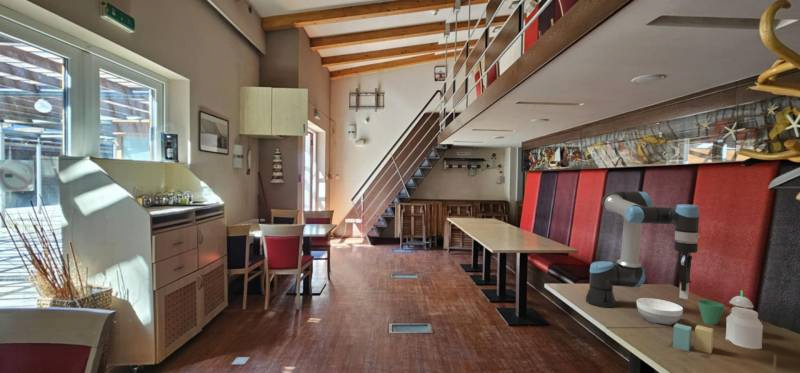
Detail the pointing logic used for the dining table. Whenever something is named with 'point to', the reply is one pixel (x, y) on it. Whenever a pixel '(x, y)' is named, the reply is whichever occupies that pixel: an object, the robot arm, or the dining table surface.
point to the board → (693, 351)
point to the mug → (710, 311)
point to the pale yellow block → (703, 339)
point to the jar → (744, 328)
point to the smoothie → (740, 302)
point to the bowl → (659, 311)
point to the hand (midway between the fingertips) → (683, 298)
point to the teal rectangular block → (682, 337)
